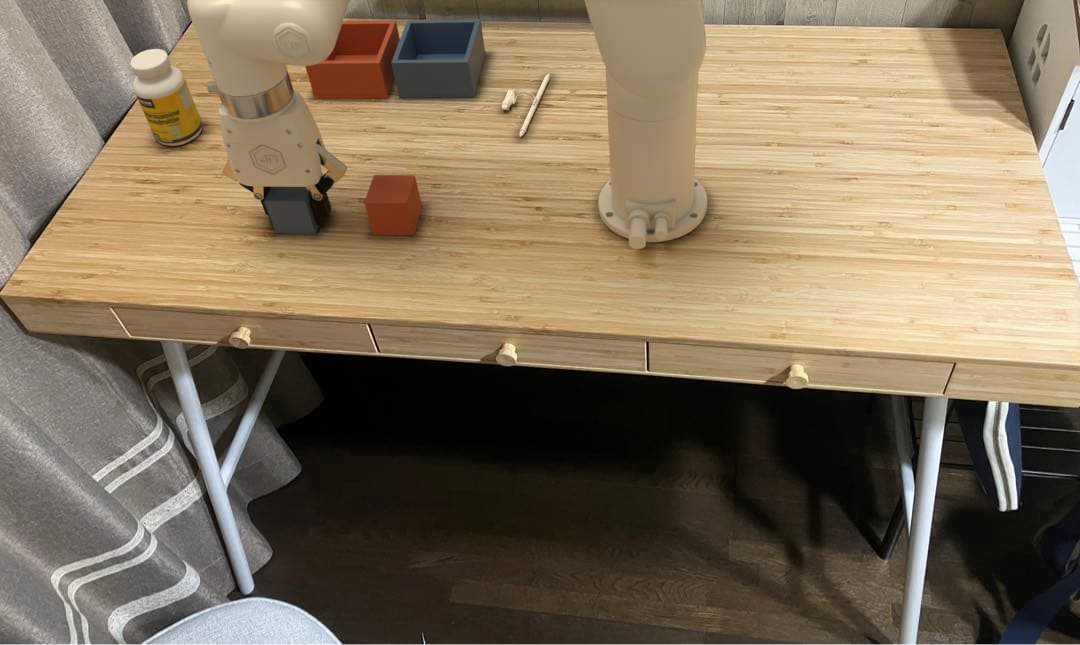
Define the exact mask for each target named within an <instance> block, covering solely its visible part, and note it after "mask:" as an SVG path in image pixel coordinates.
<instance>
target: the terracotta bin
mask: <svg viewBox="0 0 1080 645" xmlns="http://www.w3.org/2000/svg"><path fill="white" fill-rule="evenodd" d="M400 38H401V37H400V34H399V28H398V23H397V20H347V21H345V20H343V22H342V26H341V29H340V32H339V35H338V38H337V41H336V44H335V47H334V49H333V51H332V53H331V54H330V55H329V56H328V58H326V59H325V60H324V61H322V62H320V63H318V64H315V65H311V66H304V67H305V71H306V74H307V77H308V80H309V83H310V87H311V91H312V93H313V97H314V99H389V95H390V93H391V90H392V87H393V85H394V82H395V77H394V72H393V68H392V64H391V62H392V59H393V57H394V54H395V52H396V49H397V46H398V44H399V41H400Z"/></svg>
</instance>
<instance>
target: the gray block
mask: <svg viewBox="0 0 1080 645" xmlns="http://www.w3.org/2000/svg"><path fill="white" fill-rule="evenodd" d="M311 197H312V196H311V195H310V193H309V192H308V191H307V189H306V188H305V187H271V188H270V190H269V192H268V194H267V197H266V199H265V201H264V203H265V205H266V208H267V210H268V213H269V216H270V218H271V221H272V224H273V226H272V227H273V229H274V231H275V232H274V233H275V234H294V235H296V234H297V235H298V234H299V235H301V234H302V235H317V232H318V229H319V227H320V226H318V225H317V223H316V220H315V217H314V214H313V211H312V208H311V205H310V200H311Z"/></svg>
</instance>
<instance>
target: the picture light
mask: <svg viewBox="0 0 1080 645" xmlns="http://www.w3.org/2000/svg"><path fill="white" fill-rule="evenodd" d="M543 77H544V78H543V80H542V82H541V84H540V87H539V88H538V90H537V93H536V96H535V95H534V94H533V93H532V92H531V91H528V90H520V91H518V92H517V93H516V90H515V89H508V90H507V93H506V94H505V97H504V99H503V101H502V103H501V110H502V111H509V110H510V107H511V106H512V105H515V103H516V101H517V99H518V97H519V96H525V97H527V98H529V99H530V100H531V101H532V104H531V107H530V108H529V110H528V113H527V115H526V117H525V119H524V121H523V124H522V126H521V128H520V129H519V134H518V135H519V138H522V137H523V136H525V134H526V132H527V129H528V127H529V125H530V122H531V121H532V118H533V116H534V113H535V111H536V109H537V107H538V105H539V103H540V100H541V98H542V96H543V94H544V92H545V90H546V87H547V86H548V84H549V81H550V78H551V76H550V73H548V74H546V75H545V76H543ZM522 92H523V93H522ZM524 92H525V93H528V94H530V95H531V96H532V97H533V98H534V99H533V98H532V97H531V96H530V95H527V94H524Z"/></svg>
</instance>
